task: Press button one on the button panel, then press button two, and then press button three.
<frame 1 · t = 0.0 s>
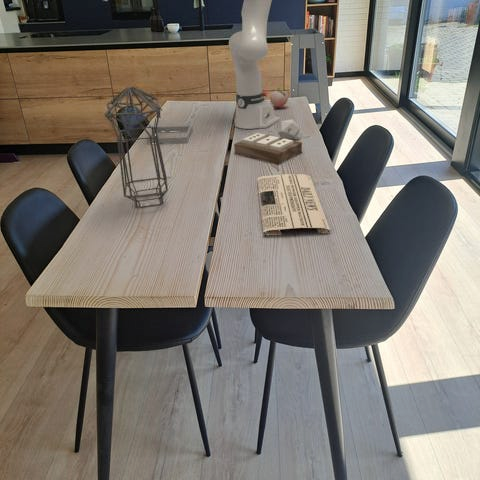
hand: (103, 0, 166), 54 cm above the table, tool tilted 30°, fingers open, 8 cm apart
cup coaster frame: (170, 137, 199), on the table
button panel: (267, 153, 176), on the table
decorative fruit: (278, 108, 233), on the table
button three: (254, 140, 178), point 4 cm above the table, slide at 0.0 cm
grey rock: (288, 139, 189), on the table
button one: (267, 143, 174), point 4 cm above the table, slide at 0.0 cm
geometric lantern: (149, 201, 144), on the table
button two: (281, 146, 170), point 4 cm above the table, slide at 0.0 cm
newspaper: (292, 206, 137), on the table
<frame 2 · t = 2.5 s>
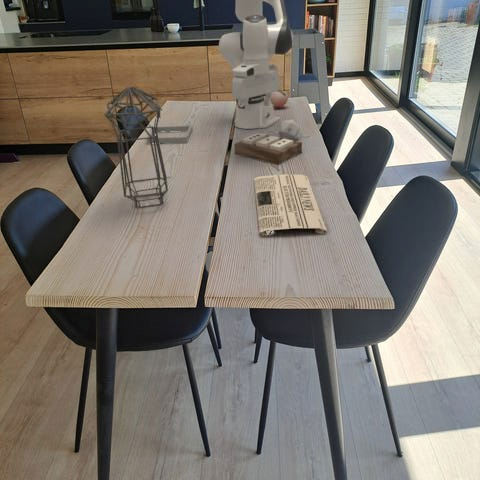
hand: (257, 108, 165), 18 cm above the table, tool pointing down, fingers open, 8 cm apart
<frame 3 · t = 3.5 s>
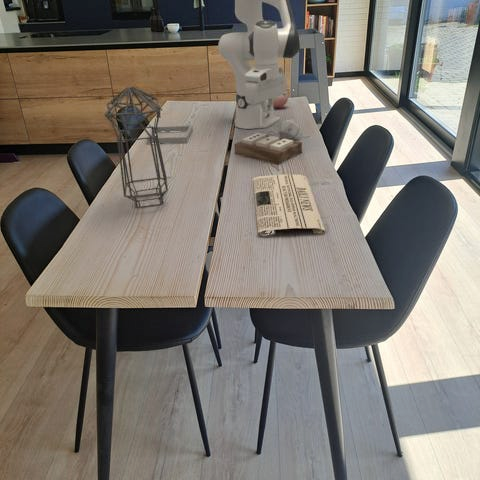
hand: (267, 111, 168), 16 cm above the table, tool pointing down, fingers closed
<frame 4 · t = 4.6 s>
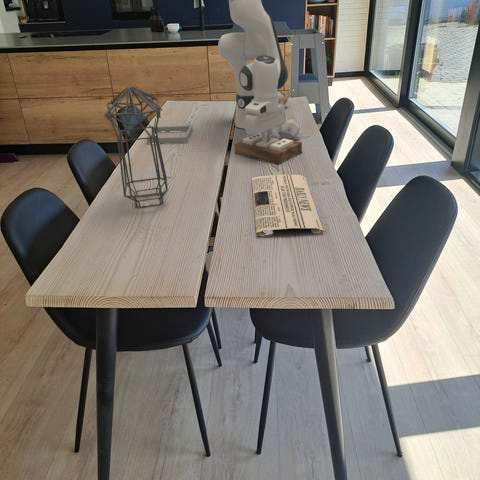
hand: (266, 140, 173), 5 cm above the table, tool pointing down, fingers closed
button one: (267, 144, 174), point 3 cm above the table, slide at 0.5 cm, touching gripper
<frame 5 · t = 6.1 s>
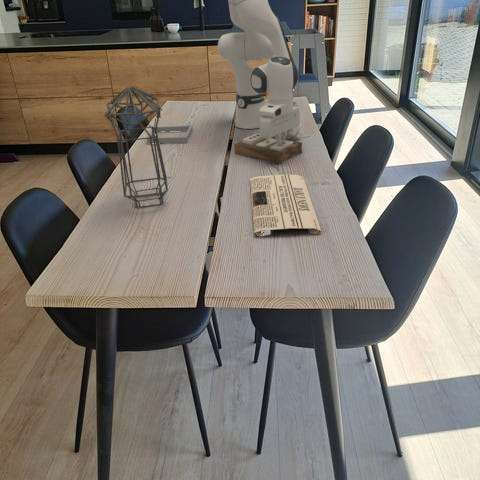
hand: (280, 143, 169), 5 cm above the table, tool pointing down, fingers closed
button one: (267, 145, 174), point 3 cm above the table, slide at 0.9 cm
button two: (281, 147, 170), point 3 cm above the table, slide at 0.5 cm, touching gripper
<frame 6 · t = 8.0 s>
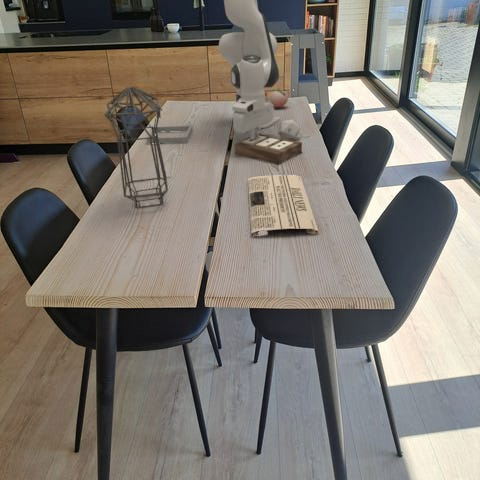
hand: (254, 138, 177), 5 cm above the table, tool pointing down, fingers closed
button three: (254, 142, 178), point 3 cm above the table, slide at 0.8 cm
button two: (281, 148, 171), point 3 cm above the table, slide at 0.8 cm
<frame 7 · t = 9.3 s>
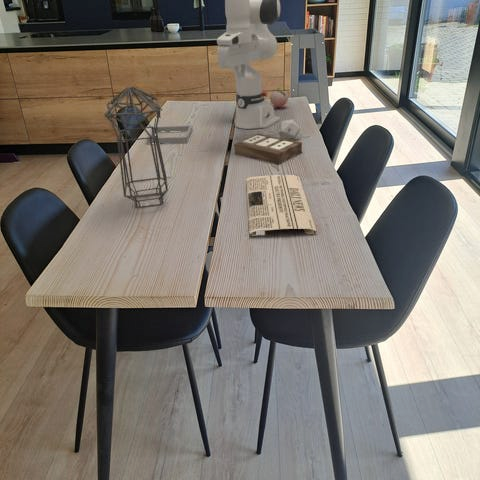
hand: (241, 77, 169), 27 cm above the table, tool pointing down, fingers closed
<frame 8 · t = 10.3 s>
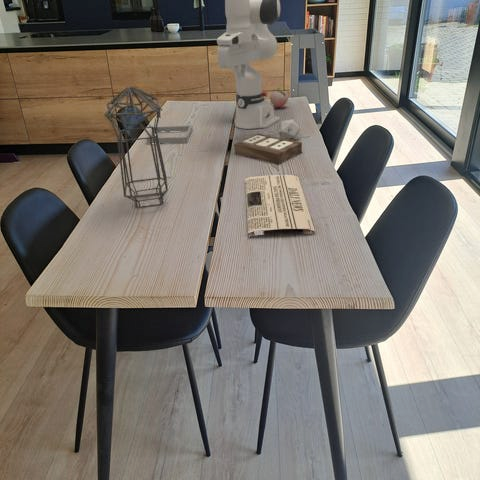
hand: (241, 77, 169), 27 cm above the table, tool pointing down, fingers closed
at the end: button one slide at 0.9 cm; button two slide at 0.8 cm; button three slide at 0.8 cm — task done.
